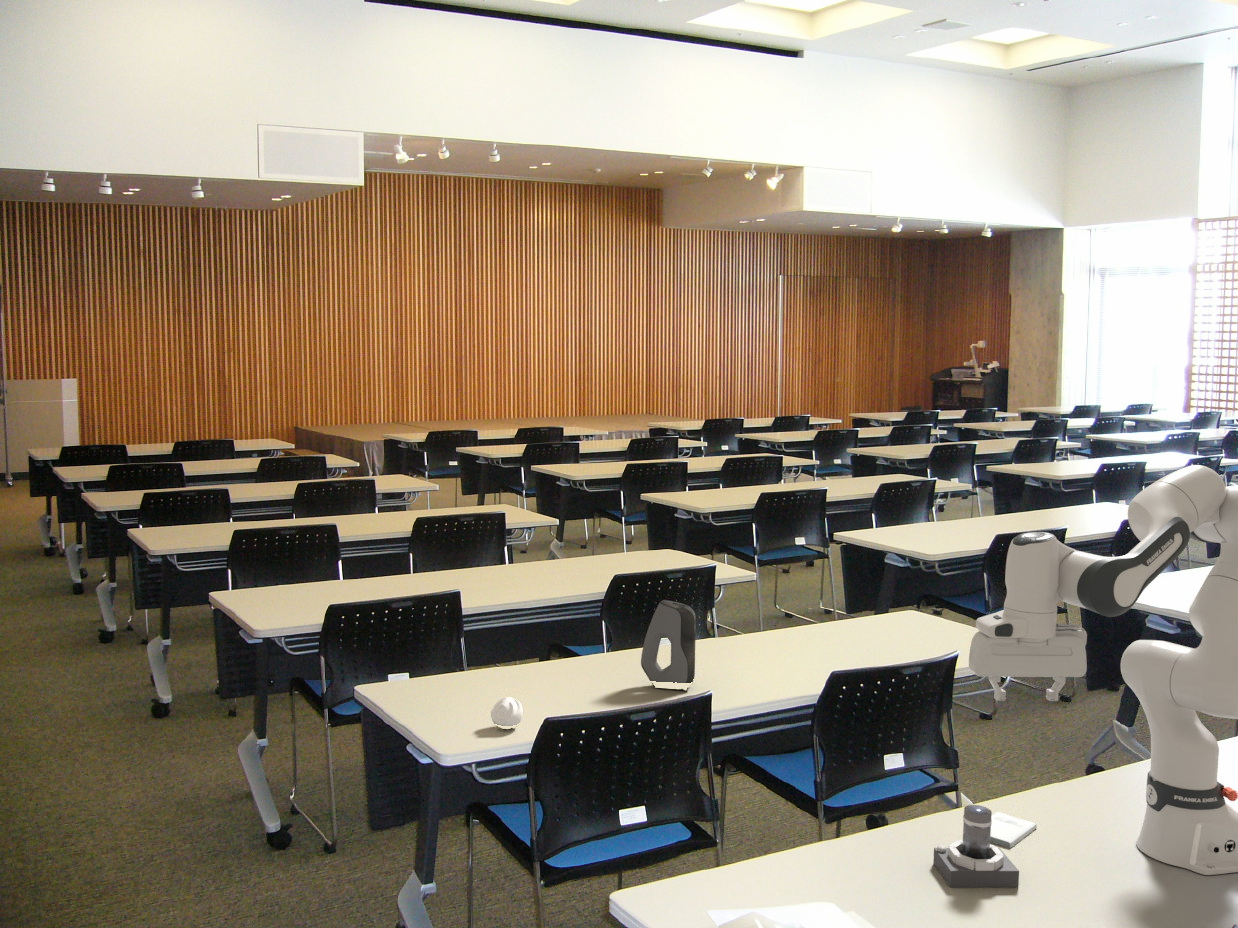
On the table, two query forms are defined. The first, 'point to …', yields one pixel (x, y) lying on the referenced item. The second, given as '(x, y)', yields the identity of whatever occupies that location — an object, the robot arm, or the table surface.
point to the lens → (976, 832)
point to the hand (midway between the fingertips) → (1025, 699)
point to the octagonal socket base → (975, 868)
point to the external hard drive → (1009, 829)
